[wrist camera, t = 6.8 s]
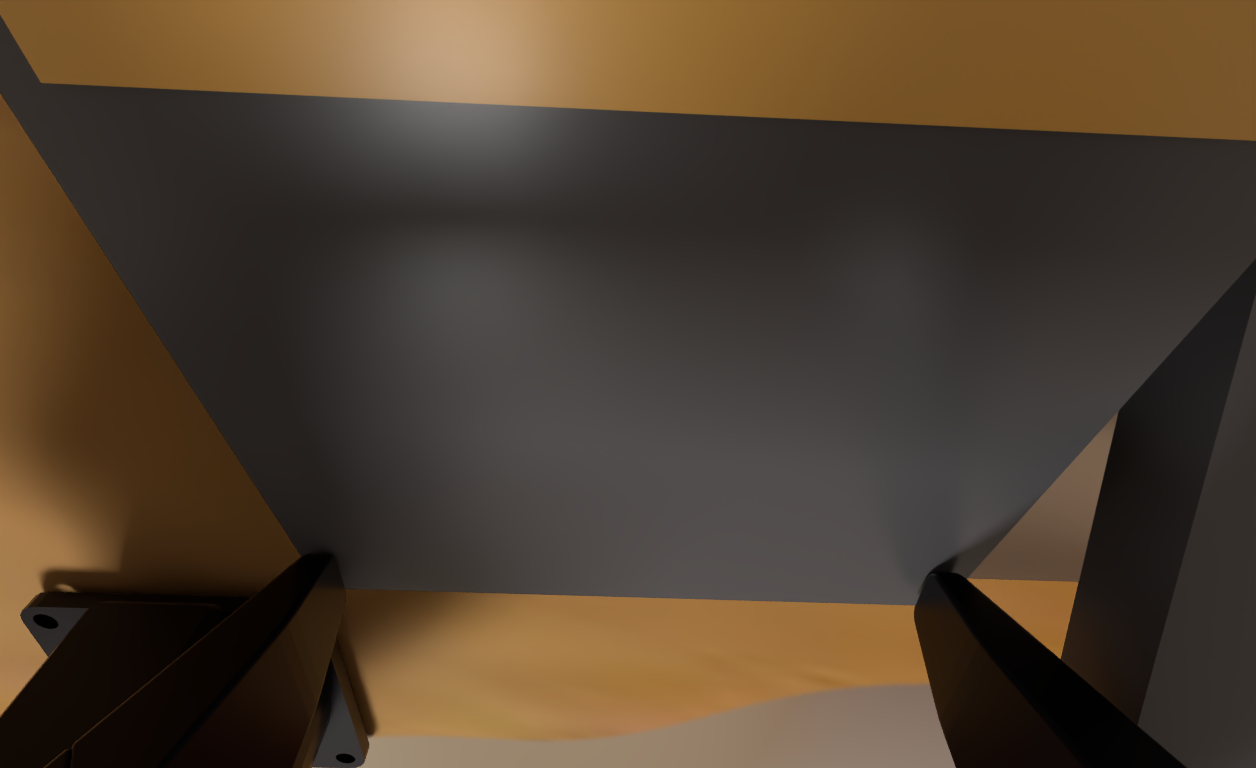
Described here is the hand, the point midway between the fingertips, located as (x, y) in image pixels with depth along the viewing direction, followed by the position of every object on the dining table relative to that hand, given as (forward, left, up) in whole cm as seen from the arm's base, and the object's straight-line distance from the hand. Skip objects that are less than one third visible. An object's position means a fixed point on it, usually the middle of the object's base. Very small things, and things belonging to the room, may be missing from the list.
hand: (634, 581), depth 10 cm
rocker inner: (+4, 0, 0) cm, 4 cm away
